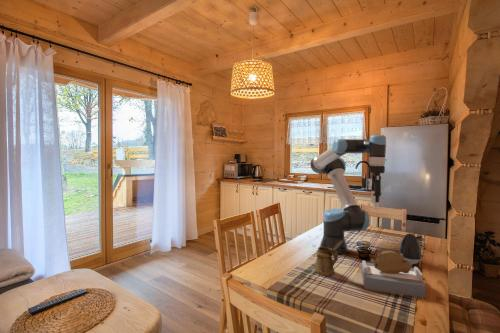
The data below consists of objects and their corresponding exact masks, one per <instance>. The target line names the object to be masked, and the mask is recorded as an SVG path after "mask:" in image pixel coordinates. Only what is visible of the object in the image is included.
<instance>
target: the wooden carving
mask: <svg viewBox="0 0 500 333" xmlns="http://www.w3.org/2000/svg"><path fill="white" fill-rule="evenodd" d="M370 263H374V267H375V268H376V269H378V270H380V271H382V272H384V273H389V274H395V273H399V272H403V273H409V270H410V269H411V268H413V265H414V264H411V263H410V262H409V261H407V260H404V256H403V254H402V253H399V251H395V250H390V249H386V250H385V249H384V250H381V251H377V252H376V257H375V258H373V257H371V258H370Z"/></svg>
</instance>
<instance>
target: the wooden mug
mask: <svg viewBox="0 0 500 333" xmlns="http://www.w3.org/2000/svg"><path fill="white" fill-rule="evenodd" d="M342 242H343V240H340V241H339V242H338V243H336V244H335V245H334V247H333V248H332V249H330V248H328V247H320V246H319V247H318V248H317V251H316V260H315V265H314V269H313V271H314V273H316V274H317V275H319V276H324V277H326V276H331V275H333V274H334V273H335V268H334V265H335V264H336V263H337V262H338V260H339V254H337V251H336V249H337V248H338V247H339V246H340V244H341V243H342Z"/></svg>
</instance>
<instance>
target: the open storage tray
mask: <svg viewBox="0 0 500 333" xmlns="http://www.w3.org/2000/svg"><path fill="white" fill-rule="evenodd" d="M360 269H361V271H360V273H361V278H362V282H363V287H364V290H368V291H369V290H370V291H377V292H382V291H383V293H389V292H390V294H395V293H399V294H398V295H402V294H405V295H404V296H408V295H412V296H411V297H415V296H417V297H416V298H421V299H422V298H424V299H426V292H427V291H426V288H427V286H426V284H425V282H424V280H423V277H424V275H423V273H422V272H421V270H420V269H419V268H418V266H414V267H411V269H410V270H409V273H403V272H399V273H395V274H389V273H384V272H382V271H380V270H378V269H376V268H375V267H374V263H372V262H366V260H362V261H361V268H360Z"/></svg>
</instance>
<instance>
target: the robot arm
mask: <svg viewBox="0 0 500 333" xmlns="http://www.w3.org/2000/svg"><path fill="white" fill-rule="evenodd" d="M369 137H370V138H369V139H368V138H367V139H363V138H362V139H361V138H360V139H359V138H358V139H357V138H356V139H354V138H353V139H347V138H346V139H345V138H340V139H338V138H337V139H334V140H333V143H332V145H331V147H329V148H328V149H327V150H325V151H324V152H322V153H320V155H315V156H314V157H313V158H312V159H311V160H310V164H309V165H310V168H311V170H312V171H313V172H314V173H316V174H319V175H326V176H327V178H328V179H329V180H330V181H331V183H332V185H333V188H334V191H335V193H336V195H337V198H338V201H339V202H340V203H339V204H340V206H341V208H331V209H330V208H329V209H327V210H325V211H324V213H323V218H322V219H323V220H322V221H323V235H322V239H321V240H320V245H319V247H328V248H330V249H332V248H333V247H334V245H335V244H336V243H338V242H339V241H340V240H343V242H342V243H341V244H340V246H339V247H338V248H337V249H336V251H337V254H338V255H344V254H346V253H347V252H348V246H347V242H346V240H345V232H347V233H348V232H361V231H365V230H367V229H368V228H369V226H370V215H369V213H368V211H367V210H365V209H364V210H362V207H361V206H360V205H359V204H357V202H356V201H355V198H354V196H353V193H352V191H351V189H350V186H349V184H348V182H347V180H346V179H347V178H345V175H344V174H345V171H346V168H347V166H346V162H345V160H344V159H343V158H342V156H344V155H347V154H368V155H369V156H368V164H369V165H368V172H369V174H370V173H371V174H372V175H371V186H370V190H371V192H370V194H371V195H370V196H371V197H370V204H373V209H377V210H380V206H381V195H382V191H381V190H382V188H381V187H382V186H381V185H382V184H381V180H382V177H381V175H380V174H384V173H385V171H386V169H385V165H386V161H387V159H386V151H387V150H386V148H387V137H386V135H384V134H378V135H377V134H374V135H370V136H369Z"/></svg>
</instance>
